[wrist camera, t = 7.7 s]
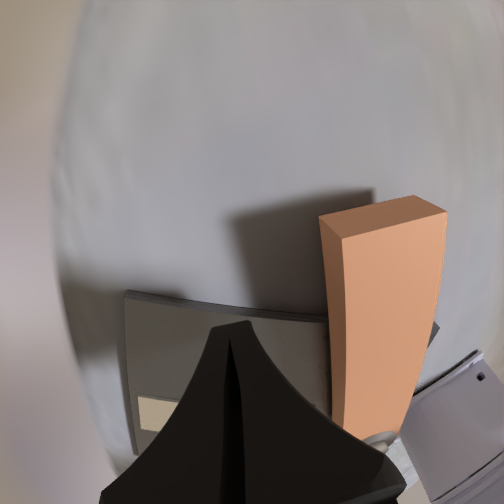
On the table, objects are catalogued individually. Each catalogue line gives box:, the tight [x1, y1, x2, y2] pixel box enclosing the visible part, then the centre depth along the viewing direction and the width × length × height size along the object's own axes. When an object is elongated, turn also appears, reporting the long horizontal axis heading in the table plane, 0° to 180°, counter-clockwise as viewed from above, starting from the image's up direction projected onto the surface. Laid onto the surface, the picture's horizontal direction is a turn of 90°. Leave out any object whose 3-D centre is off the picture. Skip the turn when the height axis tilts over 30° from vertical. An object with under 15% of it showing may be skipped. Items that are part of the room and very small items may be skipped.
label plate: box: [124, 290, 440, 456], centre depth 16 cm, size 16×17×1 cm
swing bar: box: [318, 195, 447, 454], centre depth 12 cm, size 17×4×3 cm, turn 12°
